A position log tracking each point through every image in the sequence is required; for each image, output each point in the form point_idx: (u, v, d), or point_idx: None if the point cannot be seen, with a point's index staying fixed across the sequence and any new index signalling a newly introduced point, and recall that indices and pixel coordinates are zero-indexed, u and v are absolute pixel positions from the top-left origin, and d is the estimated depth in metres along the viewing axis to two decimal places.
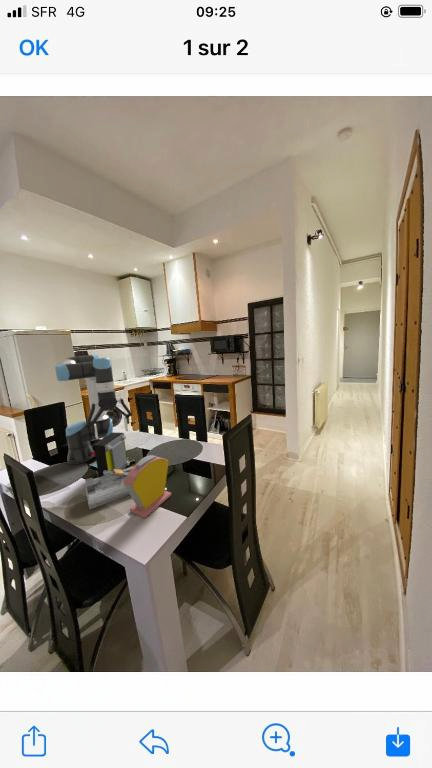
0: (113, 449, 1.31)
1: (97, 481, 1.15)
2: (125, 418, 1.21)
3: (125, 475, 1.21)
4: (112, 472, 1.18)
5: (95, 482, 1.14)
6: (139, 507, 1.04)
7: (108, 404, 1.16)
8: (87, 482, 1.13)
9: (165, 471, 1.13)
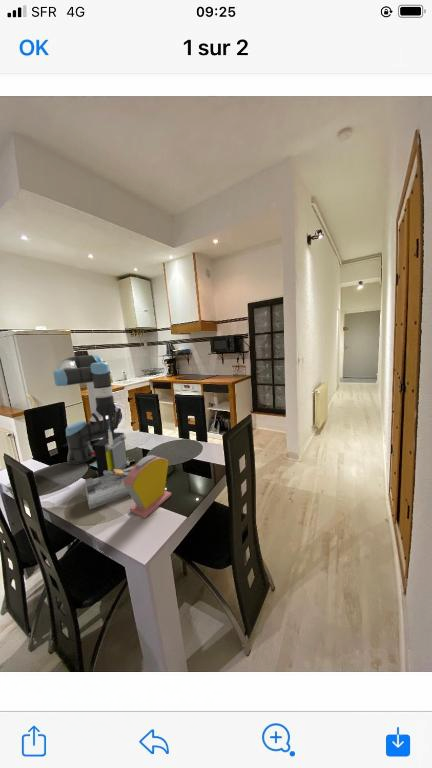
0: (113, 449, 1.31)
1: (97, 481, 1.15)
2: (110, 431, 1.17)
3: (125, 475, 1.21)
4: (112, 472, 1.18)
5: (95, 482, 1.14)
6: (139, 507, 1.04)
7: (106, 409, 1.15)
8: (87, 482, 1.13)
9: (165, 471, 1.13)
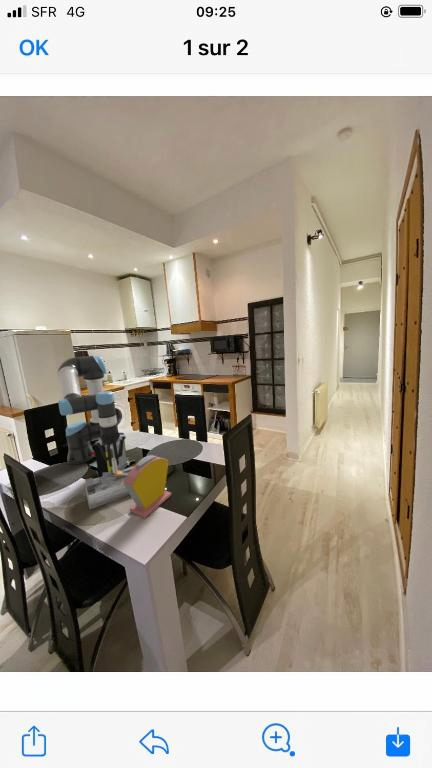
0: (113, 449, 1.31)
1: (97, 481, 1.15)
2: (114, 459, 1.17)
3: (125, 476, 1.21)
4: (111, 473, 1.18)
5: (95, 482, 1.14)
6: (139, 507, 1.04)
7: (110, 438, 1.15)
8: (87, 482, 1.13)
9: (165, 471, 1.13)
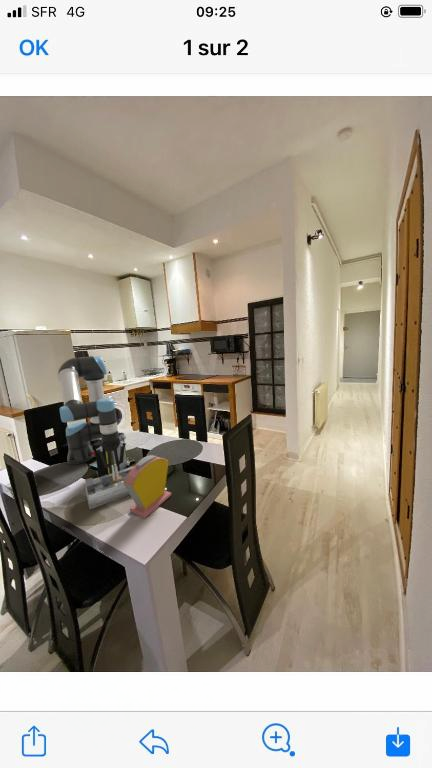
0: None
1: (97, 481, 1.15)
2: (115, 466, 1.18)
3: (124, 479, 1.21)
4: (110, 481, 1.19)
5: (95, 482, 1.14)
6: (139, 507, 1.04)
7: (111, 445, 1.16)
8: (87, 482, 1.13)
9: (165, 471, 1.13)
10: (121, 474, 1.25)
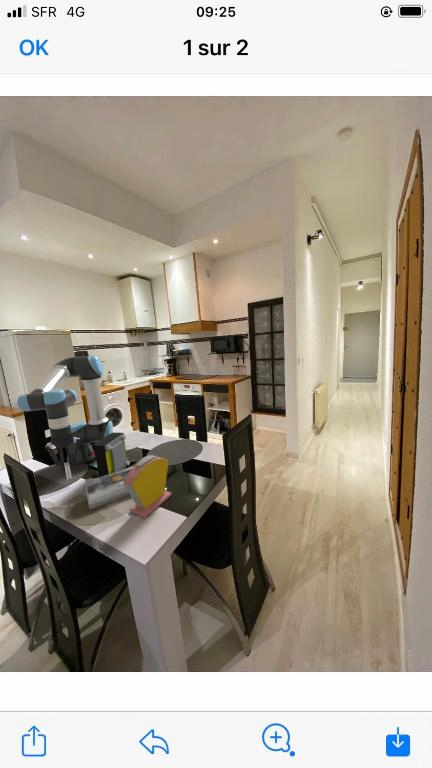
0: (113, 449, 1.31)
1: (97, 481, 1.15)
2: (67, 464, 1.07)
3: (124, 479, 1.21)
4: (110, 481, 1.19)
5: (95, 482, 1.14)
6: (139, 507, 1.04)
7: (62, 441, 1.05)
8: (87, 482, 1.13)
9: (165, 471, 1.13)
10: (121, 474, 1.25)
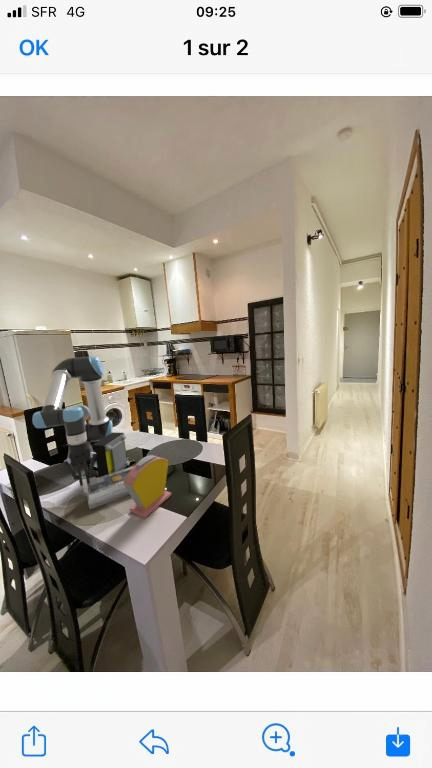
0: (113, 449, 1.31)
1: (100, 480, 1.16)
2: (84, 478, 1.11)
3: (124, 479, 1.21)
4: (110, 481, 1.19)
5: (98, 481, 1.15)
6: (139, 507, 1.04)
7: (80, 456, 1.09)
8: (90, 481, 1.14)
9: (165, 471, 1.13)
10: (121, 474, 1.25)
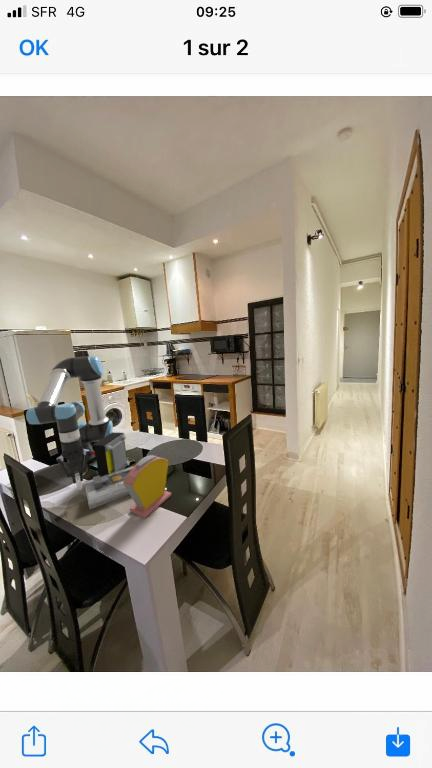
0: (113, 449, 1.31)
1: (105, 479, 1.17)
2: (78, 475, 1.10)
3: (124, 479, 1.21)
4: (110, 481, 1.19)
5: (103, 480, 1.16)
6: (139, 507, 1.04)
7: (73, 453, 1.08)
8: (95, 479, 1.15)
9: (165, 471, 1.13)
10: (121, 474, 1.25)
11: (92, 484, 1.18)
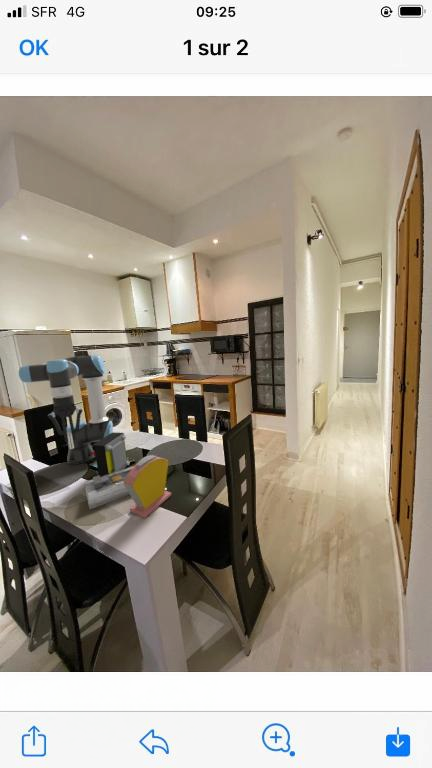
0: (113, 449, 1.31)
1: (105, 479, 1.17)
2: (70, 434, 1.08)
3: (124, 479, 1.21)
4: (110, 481, 1.19)
5: (103, 480, 1.16)
6: (139, 507, 1.04)
7: (65, 410, 1.06)
8: (95, 479, 1.15)
9: (165, 471, 1.13)
10: (121, 474, 1.25)
11: (92, 484, 1.18)
